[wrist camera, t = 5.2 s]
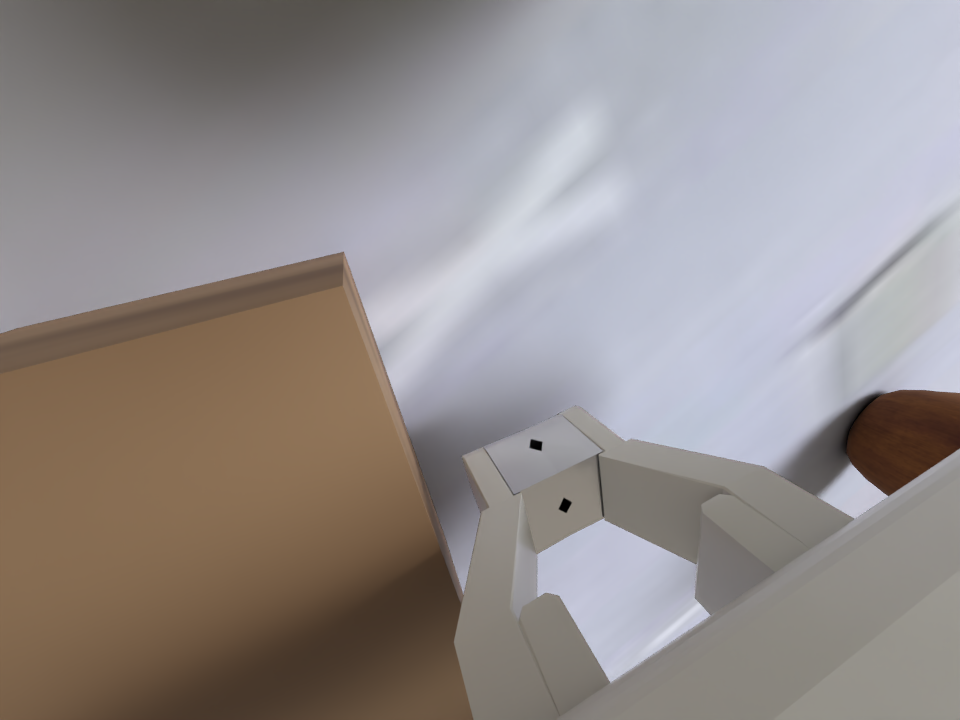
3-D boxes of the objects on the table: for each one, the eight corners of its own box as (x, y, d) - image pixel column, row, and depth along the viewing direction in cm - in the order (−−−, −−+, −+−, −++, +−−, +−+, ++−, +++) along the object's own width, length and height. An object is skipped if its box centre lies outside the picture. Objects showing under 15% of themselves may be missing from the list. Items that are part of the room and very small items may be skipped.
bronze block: (25, 325, 7) (-616, 533, 2) (343, 251, 8) (342, 285, 4) (265, 618, 11) (212, 884, 6) (444, 535, 12) (499, 708, 8)
